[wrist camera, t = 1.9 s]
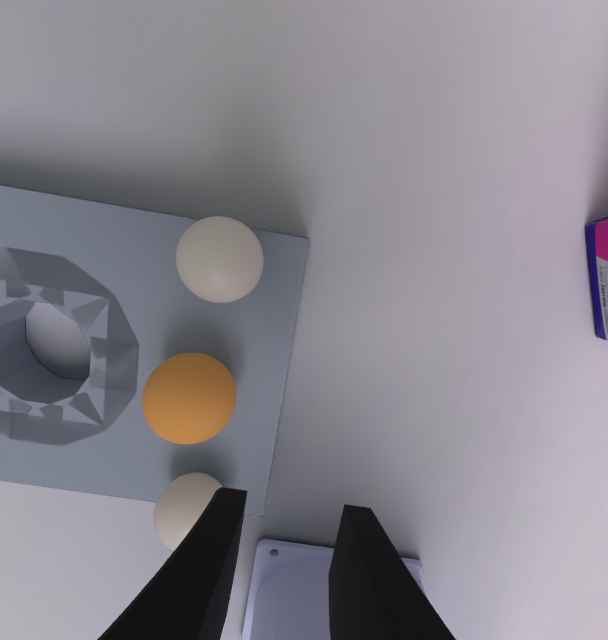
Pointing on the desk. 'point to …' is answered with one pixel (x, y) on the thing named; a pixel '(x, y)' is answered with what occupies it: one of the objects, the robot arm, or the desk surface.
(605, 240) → the supplement box
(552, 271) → the desk surface
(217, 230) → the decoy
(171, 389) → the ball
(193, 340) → the grey socket plate
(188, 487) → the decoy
